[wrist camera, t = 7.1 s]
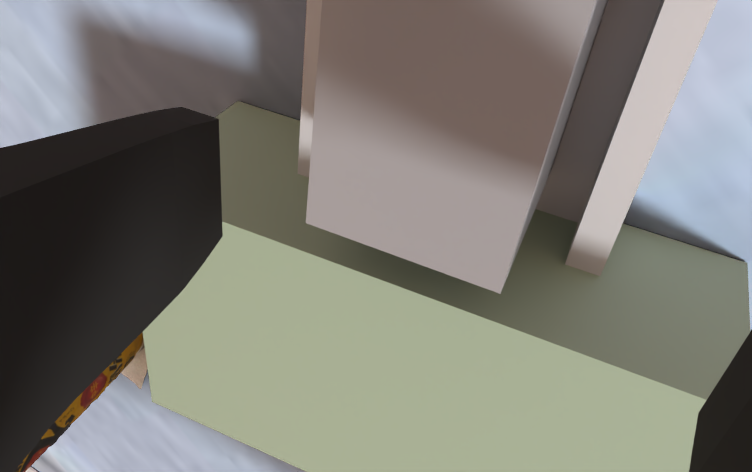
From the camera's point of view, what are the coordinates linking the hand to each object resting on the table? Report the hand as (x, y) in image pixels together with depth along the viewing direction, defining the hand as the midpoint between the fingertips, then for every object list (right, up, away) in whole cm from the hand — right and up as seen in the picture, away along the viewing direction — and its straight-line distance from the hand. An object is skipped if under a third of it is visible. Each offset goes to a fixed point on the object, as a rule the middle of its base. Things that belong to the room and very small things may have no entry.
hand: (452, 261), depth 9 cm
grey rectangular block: (+2, +5, +6) cm, 8 cm away
